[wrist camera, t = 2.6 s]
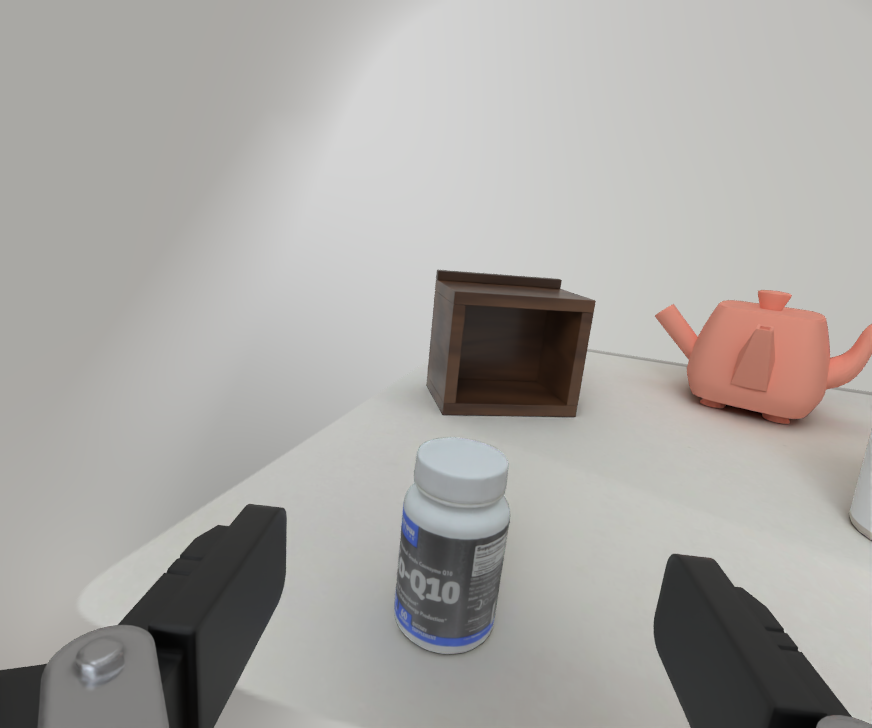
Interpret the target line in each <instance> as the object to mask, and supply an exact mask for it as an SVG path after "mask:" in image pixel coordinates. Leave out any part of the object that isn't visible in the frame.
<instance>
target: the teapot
mask: <svg viewBox="0 0 872 728" xmlns="http://www.w3.org/2000/svg"><path fill="white" fill-rule="evenodd" d="M791 296H792V295H790V294H789V293H784V292H780V291H771V290H760V291H758V297H759V303H751V302H744V301H734V300H727V301H722V302H720V303H719V304H718V306H717V307H716V308H715V310H714V311H713V313H712V314H711V316H710V317H709V319H708V321H707V322H706V324H705V325H704V327H703V329H702V331H701V333H700V334H699V336H698V337H697V336H696V334H695V333H694V331H693V330H692V329H691V327H690V326H689V324H688V323H687V322H686V320H685V319H684V318H683V316H682V315H681V314H680V312H679V311H678V309H677V308H676V307H675V305H674V304H673V305H671V306H669V307H667V308H666V309H664V310H662V311H661V312H659V313H658V314H657V315H655V317H656V318H657V320H658V321H659V322H660V323H661V325H662V326H663V327H664V328H665V330H666V331H667V332H668V333H669V335H670V336H671V338H672V339H673V340H674V341H675V343H676V344H677V345H678V347H679V348H680V349H681V350H682V351H683V353H684V354H685V356H686V357H687V358H688V359H689V362H688V366H687V376H688V381H689V386H690V389H691V391H692V393H693V394H694V395H696V396H698V397H701V398H702V399H701V401H700V403H702V404H704V405H706V406H710V407H715V408H724V407H725V405H726V404H727V405H731V406H735V407H739V408H743V409H747V410H752V411H756V412H761V413H762V417H763V418H765V419H767V420H769V421H772V422H776V423H782V424H789V423H790V421H789V418H790V419H801V418H804V417H806V416H807V415H808V414H809V413H810V412H811V411H812V410H813V409H814V408H815V407H816V406H817V405H818V404H819V403H820V401H821V400H822V398H823V397H824V395H825V391H826V389H830V388H835V387H839V386H841V385H844V384H846V383H848V382H850V381H851V380H852V379H854V378H855V377H856V376H857V375H858V374H859V373H860V372H861V371H862V369H863V367H864V366H865V365H866V363H867V362H868V360H869V358H870V357H871V355H872V324H871V325H869V326H868V327H867V328H866V329H865V330H864V331H863V332H862V334H861V335H860V337H859V338H858V340H857V341H856V342H855V344H854V345H853V346H852V348H851V349H850V350H848V351H847V352H846V353H844V354H842V355H839V356H836V357H832V358H830V346H829V335H828V326H827V322H826V318H825V316H823V315H822V314H820V313H816V312H813V311H807V310H800V309H794V308H787V307H784V306H785V305H786V304H787V302H788V301H789V300H790V298H791Z"/></svg>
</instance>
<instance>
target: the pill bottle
mask: <svg viewBox="0 0 872 728" xmlns="http://www.w3.org/2000/svg"><path fill="white" fill-rule="evenodd" d="M508 468H509V463H508V460H507V458H506V456H505V455H504V454H503V453H502V452H501V451H499V450H498V449H496V448H494V447H493V446H491V445H488V444H485V443H483V442H480V441H476V440H471V439H466V438H457V437H447V438H437V439H433V440H429V441H427V442H425V443H424V444H422V445H421V446H420V447H419V449H418V451H417V456H416V464H415V470H414V484H413V485H412V486H411V487H410V488H409V489H408V491H407V493H406V495H405V498H404V503H403V515H402V526H401V541H400V550H399V561H398V572H397V584H396V594H395V608H394V610H395V619H396V622H397V625H398V626H399V628H400V629H401V631H402V632H403V633H404V635H405V636H407V637H408V638H409V639H410V640H411V641H412V642H414V643H415V644H417V645H418V646H420V647H422V648H424V649H426V650H428V651H432V652H436V653H442V654H456V653H462V652H466V651H469V650H471V649H474V648H475V647H477V646H478V645H480V644H481V643H483V642H484V641H485V640H486V639H487V637H488V636H489V635H490V633H491V630H492V628H493V623H494V618H495V611H496V605H497V598H498V591H499V584H500V577H501V571H502V565H503V559H504V552H505V546H506V539H507V533H508V527H509V523H510V508H509V504H508V502H507V500H506V498H505V496H504V494H505V489H506V485H507V476H508Z"/></svg>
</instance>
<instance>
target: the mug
mask: <svg viewBox="0 0 872 728" xmlns="http://www.w3.org/2000/svg"><path fill="white" fill-rule="evenodd" d="M849 516H850V519H851V521H852V524H853V525H854V526H855V527H856V528H857V530H858V531H859V532H861V533H862V534H863V535H865V536H866V537H867V538H869V539H870V540H871V541H872V430H871V433H870V437H869V441H868V445H867V448H866V452H865V456H864V460H863V463H862V467H861V471H860V474H859V478H858V482H857V486H856V489H855V493H854V497H853V501H852V504H851V508H850V512H849Z"/></svg>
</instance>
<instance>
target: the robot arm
mask: <svg viewBox="0 0 872 728" xmlns="http://www.w3.org/2000/svg"><path fill="white" fill-rule="evenodd" d="M286 524H287V517H286V511H285V509H284V508H280V507H271V506H263V505H254V504H248V505H247V506H246V507H245V508H244V509H243V510H242V511H241V512H240V514H239V515H238V516H237V517H236V519H235V520H234V521H233V522H232V523H231V525H230V526H221V525H217V526H216V527H214V528H212V529H211V530H209V531H207V532H205V533H204V534H202V535H200V536H199V537H197V538H195V539H194V541H193V542H192V543H191V544H190V545H189V546H188V547H187V548H186V549H185V551H184V552H183V553H182V554H181V555H180V558H179V559H176V561H175V562H174V563H173V564H172V565H171V566H170V567H169V568H168V571H167V573H164V574H163V575H162V576H161V577H160V578H159V580H158V581H157V582H156V583H155V584H154V585H153V586H152V587H151V588H150V590H149V591H148V592H147V593H146V594H145V595H144V596H143V597H142V599H141V600H140V601H139V602H138V603H137V604H136V605H135V606H134V607H133V609H132V610H131V611H130V612H129V613H128V614H127V615H126V616H125V617H124V619H123V620H122V621H121V622H120V623H119V624H118V625H115V626H108V627H104V628H100V629H97V630H94V631H91V632H89V633H86V634H84V635H82V636H80V637H78V638H76V639H74V640H73V641H71V642H70V643H68V644H67V645H65V646H64V647H63V648H61V650H59V651H58V652H57V653H56V654H55V655H54V656H53V657H52V658H51V660H50V661H49V662H48V664H43V665H37V666H29V667H21V668H14V669H7V670H0V728H214V726H215V724H216V722H217V720H218V718H219V716H220V714H221V712H222V710H223V709H224V707H225V705H226V703H227V701H228V699H229V697H230V695H231V693H232V691H233V689H234V687H235V685H236V684H237V682H238V680H239V678H240V676H241V674H242V672H243V670H244V668H245V666H246V664H247V662H248V660H249V659H250V657H251V655H252V653H253V651H254V649H255V647H256V645H257V643H258V641H259V639H260V637H261V635H262V634H263V632H264V630H265V628H266V626H267V624H268V622H269V620H270V618H271V616H272V614H273V612H274V610H275V609H276V607H277V605H278V603H279V600H280V597H281V594H282V591H283V587H284V582H285V575H286ZM654 638H655V644H656V648H657V651H658V654H659V656H660V658H661V660H662V663H663V665H664V667H665V670H666V672H667V674H668V676H669V679H670V681H671V683H672V686H673V688H674V690H675V692H676V695H677V697H678V699H679V702H680V704H681V706H682V708H683V711H684V713H685V715H686V718H687V720H688V722H689V725H690V727H691V728H872V724H869V723H867V722H864V721H862V720H859V719H856V718H852V716H851V715H850V714H849V713H848V711H847V710H846V709H845V707H844V706H843V705H842V703H841V702H840V701H839V700H838V698H837V697H836V696H835V694H834V693H833V692H832V691H831V689H830V688H829V687H828V685H827V684H826V683H825V682H824V680H823V679H822V678H821V676H820V675H819V674H818V673H817V671H816V670H815V669H814V667H813V666H812V665H811V664H810V662H809V661H808V660H807V658H806V657H805V656H804V655H803V653H802V652H798V647H797V646H796V644H795V643H794V642H793V640H792V639H791V638H790V637H789V635H788V634H787V633H784V629H783V628H782V626H781V625H780V624H779V622H778V621H777V620H776V619H775V617H774V616H773V615H772V613H771V612H770V611H769V610H768V608H767V607H766V606H765V605H763V604H762V603H761V602H759V601H758V600H757V599H756V598H754V597H753V596H752V595H751V594H749V593H748V592H747V591H745V590H744V589H743V588H741V587H734V585H733V584H732V583H731V581H730V580H729V578H728V577H727V576H726V574H725V573H724V572H723V570H722V569H721V567H720V566H719V565H718V563H717V562H716V561H715V560H714V559H712V558H706V557H697V556H689V555H680V554H672V555H671V556H670V557H669V559H668V561H667V565H666V569H665V573H664V578H663V582H662V586H661V591H660V595H659V599H658V604H657V608H656V612H655V617H654Z"/></svg>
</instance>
